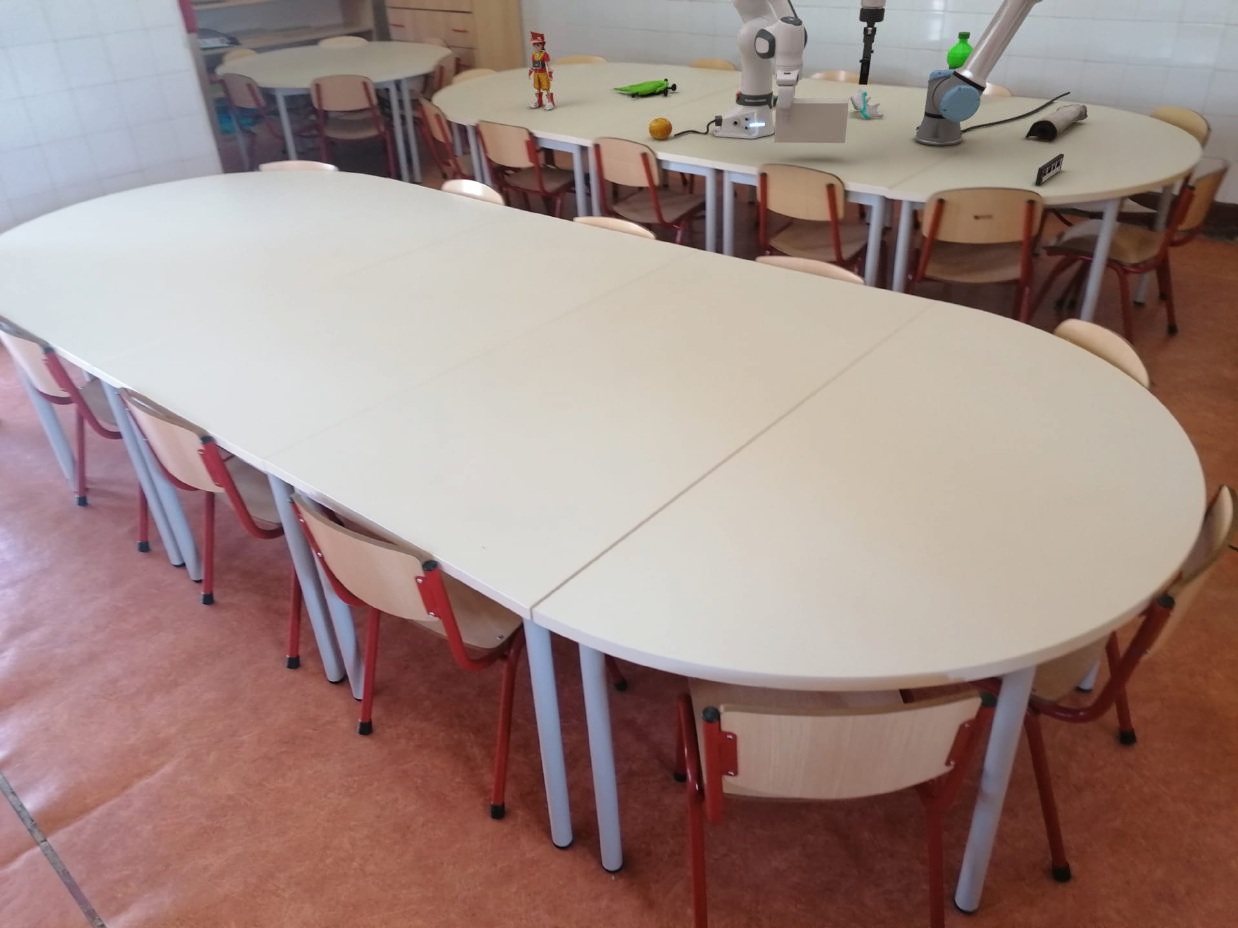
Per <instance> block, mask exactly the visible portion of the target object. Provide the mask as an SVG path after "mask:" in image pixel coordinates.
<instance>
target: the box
mask: <svg viewBox="0 0 1238 928" xmlns="http://www.w3.org/2000/svg"><path fill="white" fill-rule="evenodd" d="M849 100H850V98H849V97H817V98H815V97H810V98H808V97H807V98H805V97H804V98H802V97H797V98H796V97H794V98H793V101H792V105H791V108H790V110H789V113H788V121H782V110H779V106H778V99H777V102H776V105H775V120H774V130H775V132H774V143H782V144H783V143H788V144H789V143H790V144H791V143H792V144H793V143H795V144H796V143H797V144H798V143H799V144H801V143H803V144H809V143H810V144H845V143H846V138H847V137H846V135H847V125H848V123H847V122H848V112H849Z"/></svg>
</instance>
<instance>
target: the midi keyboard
mask: <svg viewBox="0 0 1238 928" xmlns="http://www.w3.org/2000/svg"><path fill="white" fill-rule="evenodd" d="M1064 157H1065V153H1059V154H1058V155H1056V156H1055V157H1052V159H1051V160H1049V161H1047V162H1045V164H1042V165H1041V166H1039V167H1038V169H1037V175H1036V179H1035V186H1040V185H1042V183H1044V182H1045V181H1047V180H1048V179H1049V178H1051V177H1052V176H1054V175H1055V174H1056V173H1058V172H1060V171H1061V170H1062V165H1063V161H1064Z"/></svg>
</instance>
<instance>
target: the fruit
mask: <svg viewBox="0 0 1238 928" xmlns="http://www.w3.org/2000/svg"><path fill="white" fill-rule="evenodd" d="M672 132H673V124H672V122H670V120H669V119H667V118H665V117H658V118H654V119H653V120H651V121H650V122H649V125H648V133H649V135H650V136H651V137H652V138H653V139H656V140H664V139H667V138H669V137H670V136H671V134H672Z"/></svg>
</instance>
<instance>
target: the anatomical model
mask: <svg viewBox="0 0 1238 928" xmlns="http://www.w3.org/2000/svg"><path fill="white" fill-rule="evenodd" d="M858 89H859V90H858V91H857V93H855V94H851V96H850V98H849V100H850V102H851V104H852V106H853V109H854V110H856V111H859V112H860V114H861V115H862V117H863V118H864V119H865V120H870V119H871V118H882V117H884V113H883V112H878V108H879V106H880V105H881V103H880V102H877V103H874V104H871V105H869V101H870V100H871V99H872V96H869V97H867V96H868V92H867V91H865V90H864V89H863V88H858Z"/></svg>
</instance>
